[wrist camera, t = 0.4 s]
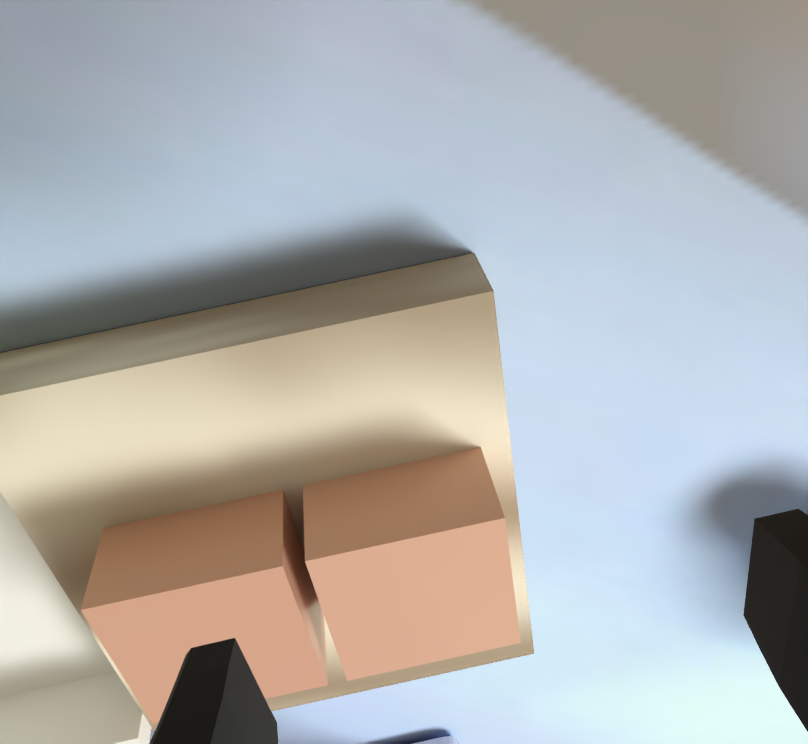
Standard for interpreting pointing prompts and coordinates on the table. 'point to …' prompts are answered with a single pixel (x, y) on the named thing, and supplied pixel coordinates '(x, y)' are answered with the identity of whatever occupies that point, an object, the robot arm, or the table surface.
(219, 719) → the robot arm
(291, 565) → the tile
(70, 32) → the table surface
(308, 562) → the tile
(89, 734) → the tray
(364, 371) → the thin cream square panel
